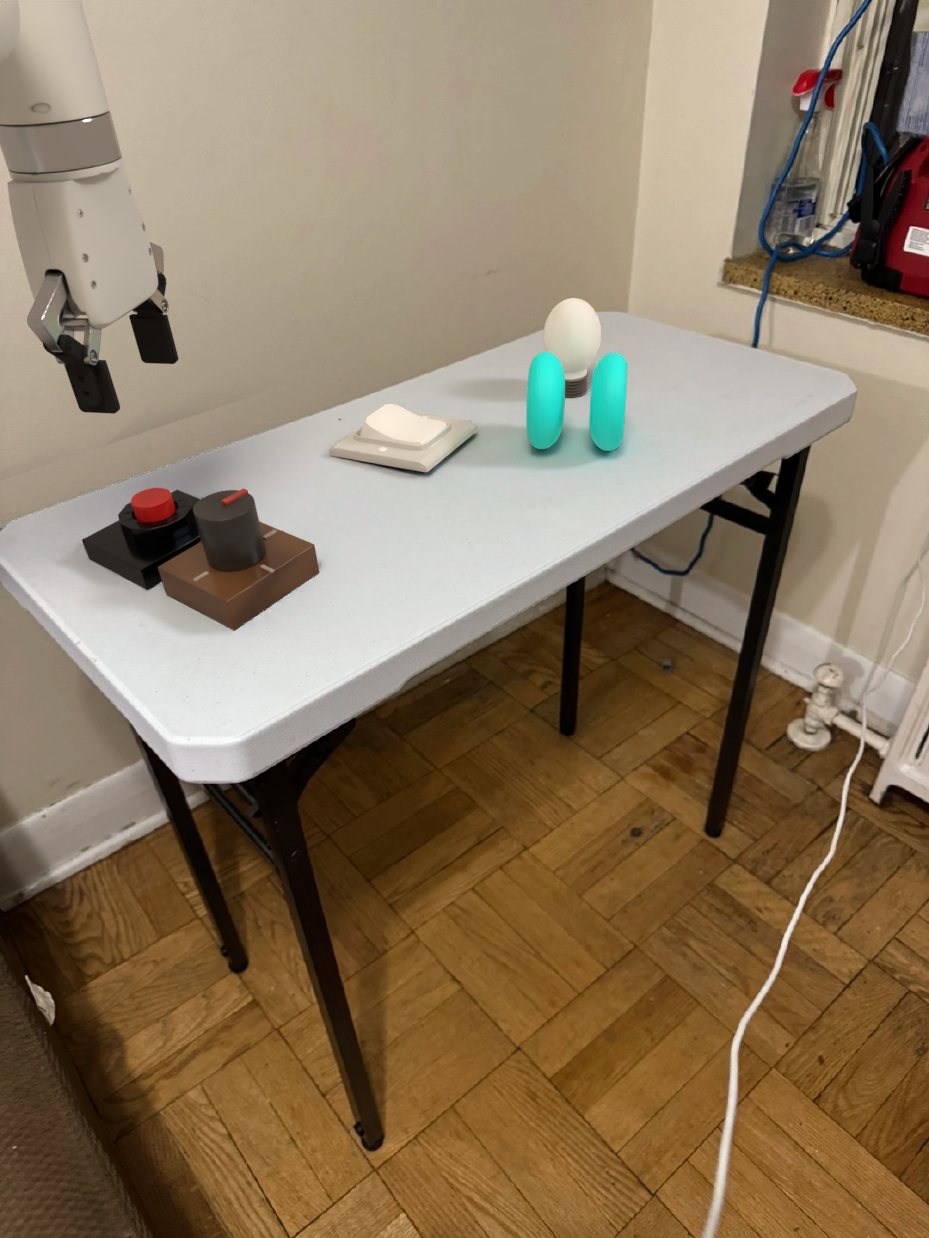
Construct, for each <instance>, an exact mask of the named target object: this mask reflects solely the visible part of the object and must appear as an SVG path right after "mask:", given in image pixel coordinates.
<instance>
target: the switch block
mask: <svg viewBox="0 0 929 1238" xmlns="http://www.w3.org/2000/svg"><path fill="white" fill-rule="evenodd" d="M170 492H171V494H172V498H173V501H174V504H175V508H176V512H175V513H174V514H173V515H171V516H169V517H167V518H166V519H164V520H160V521H155V522H139V521H137V519H136V517H135V514H134V511H133V508H132V505H131V501H130V502H129V503H127V504H125V505H124V506H123V508H122V509H121V510H120V511H119V512H118V514H117V518H118V520H116V521H115V522H112V523H111V524H108V525H107V526H104V527H103V528H101V529H99V530H97V531H96V532H93V533H92V534H89V535H88V536H86V537H84V538H81V542H82V545H83V546H84V550H85V553H86V555H87V558H88V559H89V560H90V561H92V562H93V563H95V564H97V565H98V566H99V565H100V566H101V567H103V568H105V569H107V570H109V571H111V572H112V573H114V574H117V575H118V576H120V577H122V578H124V579H125V580H128V581H129V582H131V583H133V584H135V585H137V586H139V587H141V588H143V589H145V590H146V591H148V590H150V589H152V588H153V587H155V586H157V585H159V584H160V583H163V582H162V579H161V576H160V573H159V570H158V567H159V566H160V565H162V564H164V563H165V562H167V561H169V560H171V559H172V558H174V557H176V556H177V555H179V554H181V553H183V552H184V551H186V550H188V549H189V548H191V547H193V546H195V545H196V544H198V543H200V542H201V537H200V534H199V530H198V527H197V523H196V519H195V516H194V512H193V509H194V506H195V504H196V503H197V502H198V501H199V500H201V499H202V498H199V497H197V496H194V495H192V494H189V493H187V492H184V491H182V490H179V489H175V490H173V491H170Z"/></svg>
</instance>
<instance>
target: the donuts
mask: <svg viewBox="0 0 929 1238" xmlns="http://www.w3.org/2000/svg"><path fill="white" fill-rule="evenodd" d="M627 386H628V362H627V359H626V358H625V357H624V355H622V354H620V353H618V352H609V353H607V354H604V355H603V356H602V357H600V359H598V361H597V363H596V365H595V366H594V368H593V372H592V375H591V383H590V396H589V397H590V399H589V419H588V420H589V422H588V423H589V426H588V427H589V435H590V437H591V439H592V441H593V443H594V444H595V446H596V447H598V449H600V450H602V451H604V452H611V451H614V450H617V449H618V448H619V447H620V446H621V444H622V443H623V440H624V433H625V421H626V420H625V419H626V404H627V389H628V388H627ZM565 401H566V397H565V373H564V369H563V366H562V364H561V362H560V360H559V359H558V358H557V357H556V356H555V355H554V354H552V353H549V352H545V351H541V352H539V353H537V354H536V355H535V356H534V357H533V358H532V359H531V362H530V366H529V368H528V376H527V388H526V410H525V413H526V415H525V416H526V417H525V418H526V419H525V420H526V433H527V435H526V436H527V438H528V442H529V443H530V444H531V445H532V447H534V448H536V449H539V450H545V449H546V450H547V449H549V448H551V447H552V446H554V445H555V444H556V442H557V441H558V439H559V438H560V436H561V434H562V431H563V427H564V420H565V419H564V418H565V405H566V404H565V403H566V402H565Z"/></svg>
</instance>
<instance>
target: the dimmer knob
mask: <svg viewBox="0 0 929 1238" xmlns="http://www.w3.org/2000/svg"><path fill="white" fill-rule="evenodd" d="M200 499H201V500H199V501H198V502H197V503H196V504H195V506H194V509H193V512H194V516H195V519H196V523H197V527H198V530H199V534H200V537H201V541H202V544H203V548H204V551H205V555H206V559H207V562H208V564H209V565H210V566H211V567H212V568H214V569H217V570H221V571H237V570H242V569H245V568H248V567H250V566H253V565H254V564H256V563H258V562H259V561H260V560H261V559H262V558H263V556H264V555H265V551H266V549H265V544H264V540H263V536H262V531H261V527H260V523H259V521H260V519H259V514H258V509H257V506H256V501H255V498H254V496H253V495H252V494H251V493H249V490H248V489H247V488H241V489H229V490H228V489H225V490H220V491H216V492H213V493H210V494H208V495H205V496H203V497H202V498H200Z"/></svg>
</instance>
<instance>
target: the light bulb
mask: <svg viewBox="0 0 929 1238" xmlns="http://www.w3.org/2000/svg"><path fill="white" fill-rule="evenodd" d="M600 321H601V320H600V319H599V316H598V314H597V311H596V310H595V309H594V308H593V306H592V305H591V304H590V303H589V302H587V301H586V300H584V299H581V298H578V297H576V298H575V297H570V298H566V299H563V300H562V301H560V302H559V303H557V304H556V305H555V306H554V307H553V308H552V309H551V311H550V312H549V313H548V316H547V318H546V320H545V324H544V328H543V346H544V352H549V353H552V354H554V355H555V356H556V357H557V358H558V359H559V360H560V362H561V364H562V366H563V369H564V373H565V398H576V397H581V396H583V395H585V394H586V393H587V392H588V382H589V379H588V378H589V372H588V367H590V366H591V364H592V363H593V362H594V360H595V359H596V357H597V355H598V353H599V351H600V347H601V343H602V327H601V322H600Z"/></svg>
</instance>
